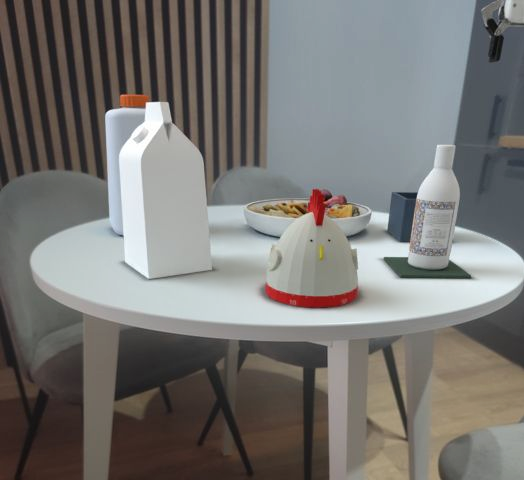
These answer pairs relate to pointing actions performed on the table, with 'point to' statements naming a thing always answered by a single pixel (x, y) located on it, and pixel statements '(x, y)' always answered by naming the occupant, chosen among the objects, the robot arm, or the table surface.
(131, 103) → the plastic bottle
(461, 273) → the mat
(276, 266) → the kitchen timer
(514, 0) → the robot arm
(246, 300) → the table surface
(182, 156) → the milk
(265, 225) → the bowl
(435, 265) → the bath foam
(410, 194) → the dark blue open box
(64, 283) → the table surface
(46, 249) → the table surface
